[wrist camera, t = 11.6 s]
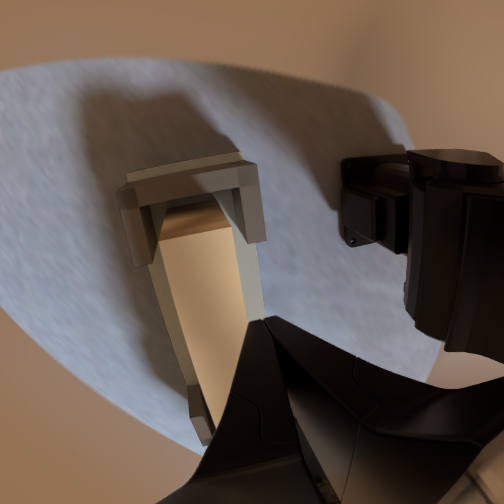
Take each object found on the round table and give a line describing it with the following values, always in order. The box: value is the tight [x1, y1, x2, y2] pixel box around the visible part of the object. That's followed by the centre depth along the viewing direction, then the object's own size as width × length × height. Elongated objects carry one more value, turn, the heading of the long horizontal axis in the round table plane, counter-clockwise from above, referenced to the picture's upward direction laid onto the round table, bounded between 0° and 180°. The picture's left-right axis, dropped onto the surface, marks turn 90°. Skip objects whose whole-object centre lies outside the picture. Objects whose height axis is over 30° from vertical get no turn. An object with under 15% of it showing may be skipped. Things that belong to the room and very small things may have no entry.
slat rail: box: [116, 152, 267, 446], centre depth 20 cm, size 7×21×4 cm, turn 7°
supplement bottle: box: [294, 418, 342, 504], centre depth 24 cm, size 7×7×12 cm
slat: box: [158, 199, 248, 429], centre depth 18 cm, size 3×16×6 cm, turn 7°
